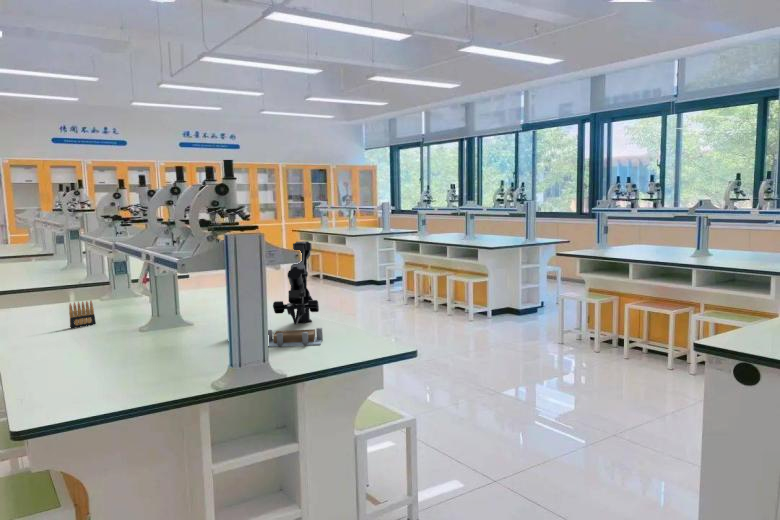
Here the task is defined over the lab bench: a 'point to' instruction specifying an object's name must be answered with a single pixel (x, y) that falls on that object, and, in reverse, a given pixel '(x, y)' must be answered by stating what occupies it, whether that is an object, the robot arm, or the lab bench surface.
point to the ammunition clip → (81, 315)
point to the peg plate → (304, 342)
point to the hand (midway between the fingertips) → (295, 324)
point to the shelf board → (295, 335)
